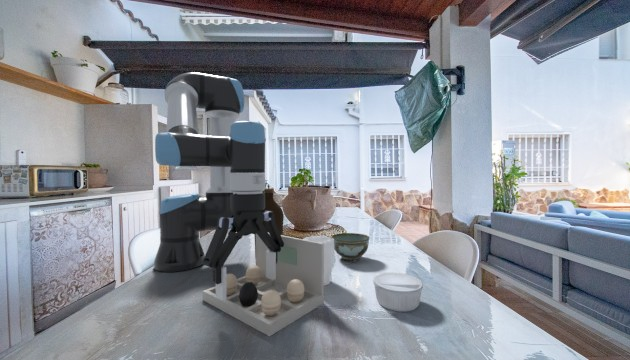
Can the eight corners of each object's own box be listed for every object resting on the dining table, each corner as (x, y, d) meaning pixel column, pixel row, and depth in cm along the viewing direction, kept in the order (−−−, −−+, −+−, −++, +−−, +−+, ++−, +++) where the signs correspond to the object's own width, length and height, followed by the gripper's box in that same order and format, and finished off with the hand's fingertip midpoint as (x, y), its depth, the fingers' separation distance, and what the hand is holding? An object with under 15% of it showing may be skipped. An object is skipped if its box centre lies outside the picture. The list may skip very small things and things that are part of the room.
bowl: (373, 265, 90) (373, 241, 90) (332, 264, 91) (332, 241, 90) (365, 253, 104) (365, 232, 104) (330, 253, 104) (330, 232, 104)
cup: (331, 290, 71) (332, 244, 71) (298, 287, 73) (298, 242, 72) (336, 277, 80) (336, 236, 79) (306, 275, 81) (306, 235, 81)
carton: (202, 300, 65) (202, 241, 65) (258, 279, 78) (257, 230, 78) (269, 336, 50) (269, 261, 50) (323, 303, 63) (323, 243, 63)
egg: (246, 298, 63) (246, 277, 63) (261, 301, 62) (261, 279, 62) (235, 306, 60) (235, 284, 60) (251, 309, 58) (251, 286, 58)
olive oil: (274, 264, 91) (274, 189, 90) (247, 261, 94) (247, 189, 94) (288, 255, 101) (288, 188, 100) (263, 252, 104) (263, 187, 104)
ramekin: (396, 319, 56) (396, 294, 56) (363, 298, 66) (363, 276, 66) (433, 307, 62) (434, 284, 62) (397, 289, 72) (397, 269, 71)
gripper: (204, 196, 48) (204, 314, 49) (298, 190, 68) (298, 275, 68) (183, 194, 53) (184, 302, 53) (277, 189, 73) (277, 268, 73)
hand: (248, 287), depth 61 cm, fingers open, 13 cm apart
